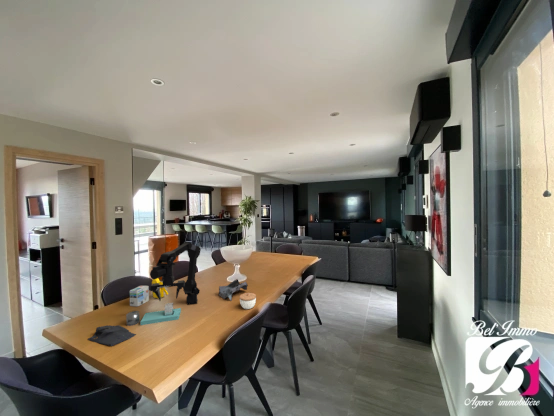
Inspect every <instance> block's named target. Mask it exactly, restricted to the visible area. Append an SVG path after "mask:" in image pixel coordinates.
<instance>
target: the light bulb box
mask: <svg viewBox="0 0 554 416" xmlns="http://www.w3.org/2000/svg"><path fill="white" fill-rule="evenodd" d="M149 301H150V287H149V285H138V286H137V287H135V288H132V289H130V290H129V307H140V306H142V305H143V304H145V303H147V302H149Z"/></svg>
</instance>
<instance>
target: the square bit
mask: <svg viewBox="0 0 554 416" xmlns="http://www.w3.org/2000/svg"><path fill="white" fill-rule="evenodd" d="M173 309H174V302H168V303H165V304H164V310H165V316H168V315H173Z"/></svg>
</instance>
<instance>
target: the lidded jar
mask: <svg viewBox="0 0 554 416" xmlns="http://www.w3.org/2000/svg"><path fill="white" fill-rule="evenodd" d="M256 302H257V294H255V293H253V292H246V293H244V292H243V293H242V294H240V295H239V303H240V306H241V307H242V309H244V310H250V309H253V308H254V307H255V305H256Z"/></svg>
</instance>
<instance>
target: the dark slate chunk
mask: <svg viewBox="0 0 554 416" xmlns="http://www.w3.org/2000/svg"><path fill="white" fill-rule="evenodd" d="M136 335H137V333H133V332H131V331H130V330H129V329H127V328H126V327H123V326H121V325H118V324H117V325H101V326H98V327H96V328H95V332H94V334H93V336H90V337H89V338H87V341H91V342H93V343H96V344H101V345H104V346H109V347H114V346H117V345H119V344H121V343H123V342H125V341H129V340H130V339H132V338H133V337H135V336H136Z"/></svg>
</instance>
